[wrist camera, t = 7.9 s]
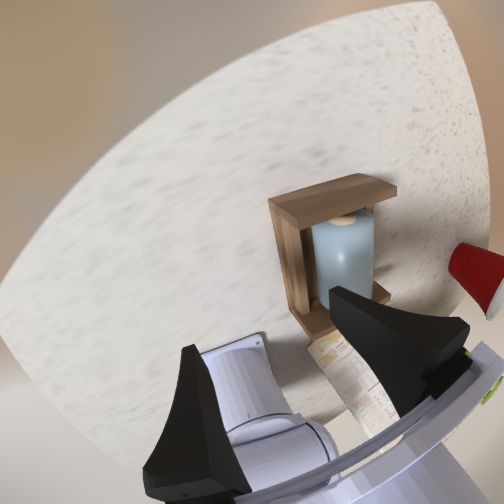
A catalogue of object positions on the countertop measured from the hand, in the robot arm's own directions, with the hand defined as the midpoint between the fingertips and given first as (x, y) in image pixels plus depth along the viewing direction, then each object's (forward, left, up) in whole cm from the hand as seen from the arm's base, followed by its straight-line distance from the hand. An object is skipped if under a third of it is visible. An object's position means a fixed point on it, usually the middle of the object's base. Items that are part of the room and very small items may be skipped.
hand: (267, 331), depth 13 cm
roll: (-3, -10, -9) cm, 14 cm away
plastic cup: (-16, -36, -10) cm, 41 cm away
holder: (-3, -9, -10) cm, 14 cm away
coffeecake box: (-21, -12, -10) cm, 26 cm away
